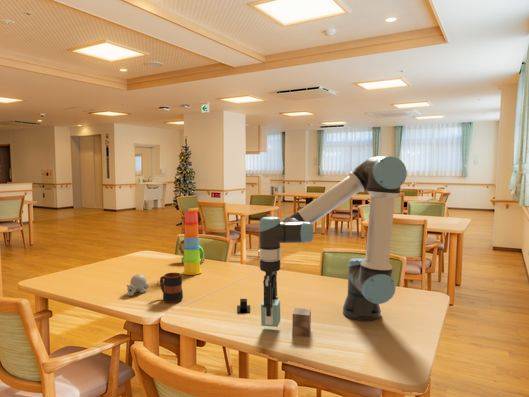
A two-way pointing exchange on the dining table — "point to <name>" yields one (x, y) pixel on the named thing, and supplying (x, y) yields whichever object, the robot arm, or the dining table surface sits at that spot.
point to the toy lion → (181, 246)
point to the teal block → (275, 313)
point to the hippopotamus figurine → (137, 285)
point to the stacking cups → (191, 244)
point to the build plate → (243, 307)
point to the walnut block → (301, 322)
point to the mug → (172, 287)
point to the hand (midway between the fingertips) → (270, 320)
